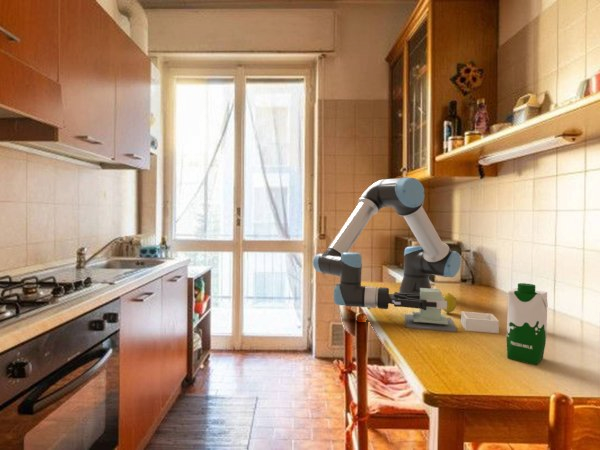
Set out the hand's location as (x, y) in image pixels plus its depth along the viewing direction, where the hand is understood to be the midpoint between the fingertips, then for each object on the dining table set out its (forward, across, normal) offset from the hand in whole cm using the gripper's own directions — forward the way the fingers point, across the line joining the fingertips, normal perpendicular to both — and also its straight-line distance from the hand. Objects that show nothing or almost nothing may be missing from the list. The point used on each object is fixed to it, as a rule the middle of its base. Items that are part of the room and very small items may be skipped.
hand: (445, 302), depth 136 cm
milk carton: (+17, +28, -8) cm, 34 cm away
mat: (-5, 0, -8) cm, 9 cm away
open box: (+11, 0, -8) cm, 13 cm away
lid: (-5, 0, -6) cm, 8 cm away
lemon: (+3, -18, -8) cm, 20 cm away
